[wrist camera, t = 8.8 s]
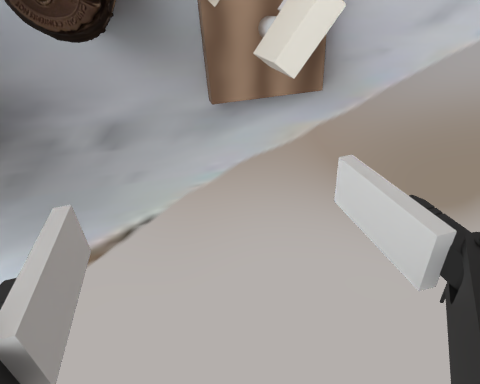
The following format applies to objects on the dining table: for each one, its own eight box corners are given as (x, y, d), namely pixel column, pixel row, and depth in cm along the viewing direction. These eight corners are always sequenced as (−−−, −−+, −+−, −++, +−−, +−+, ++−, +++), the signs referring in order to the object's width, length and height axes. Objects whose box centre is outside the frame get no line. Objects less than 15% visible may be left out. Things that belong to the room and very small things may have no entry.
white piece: (243, 48, 36) (274, 62, 26) (310, -59, 32) (376, -89, 23) (258, 61, 37) (294, 78, 28) (325, -42, 33) (394, -63, 24)
